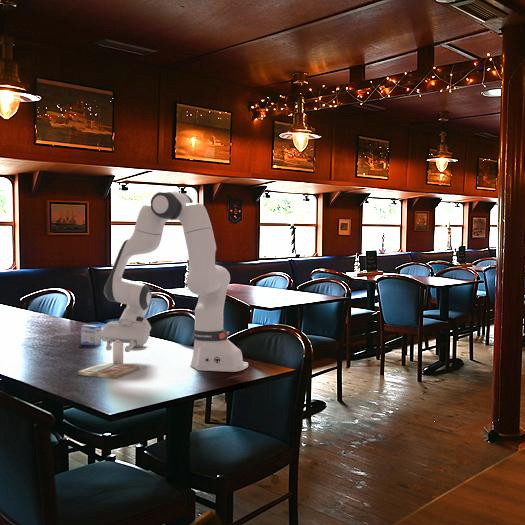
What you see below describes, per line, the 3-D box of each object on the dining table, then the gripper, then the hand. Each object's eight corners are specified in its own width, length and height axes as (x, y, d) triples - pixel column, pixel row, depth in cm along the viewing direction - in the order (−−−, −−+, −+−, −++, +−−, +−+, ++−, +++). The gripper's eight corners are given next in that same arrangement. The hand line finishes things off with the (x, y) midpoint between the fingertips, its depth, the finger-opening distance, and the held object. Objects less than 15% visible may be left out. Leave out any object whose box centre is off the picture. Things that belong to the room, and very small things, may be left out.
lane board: (139, 369, 238) (139, 365, 237) (116, 378, 222) (116, 374, 222) (103, 365, 243) (103, 361, 243) (77, 374, 228) (77, 370, 228)
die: (137, 350, 276) (149, 332, 279) (121, 340, 277) (133, 322, 280) (140, 353, 284) (152, 335, 287) (124, 343, 285) (136, 326, 288)
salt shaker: (125, 362, 249) (125, 339, 248) (119, 364, 245) (119, 341, 244) (116, 361, 250) (116, 338, 250) (111, 363, 246) (110, 340, 246)
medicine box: (81, 344, 286) (80, 325, 286) (87, 342, 290) (87, 324, 290) (95, 345, 283) (95, 326, 283) (101, 344, 287) (101, 325, 287)
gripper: (105, 316, 256) (91, 343, 248) (149, 318, 250) (136, 347, 241) (111, 325, 261) (97, 352, 252) (155, 328, 254) (142, 356, 246)
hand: (117, 350), depth 247 cm, fingers open, 7 cm apart
